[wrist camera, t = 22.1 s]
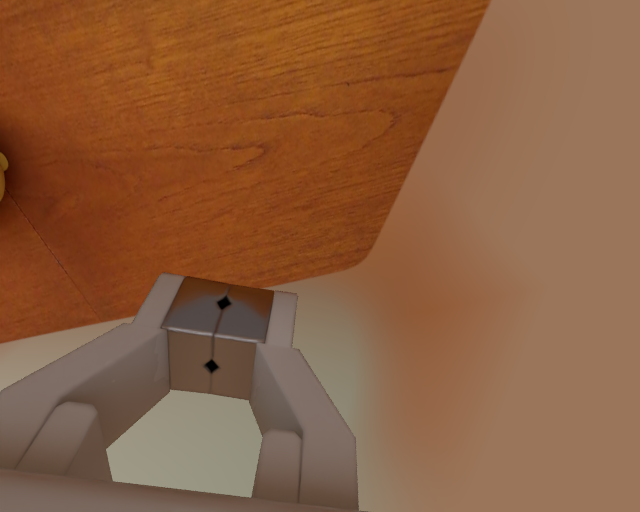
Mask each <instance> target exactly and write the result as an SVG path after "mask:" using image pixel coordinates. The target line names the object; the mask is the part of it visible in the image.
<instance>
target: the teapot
mask: <svg viewBox="0 0 640 512" xmlns="http://www.w3.org/2000/svg"><path fill="white" fill-rule="evenodd" d="M7 168H8V161H7V159H6V157H5V156H4V155H3V154H2V153H1V152H0V201H1V199H2V198H3V196H4V191H5V176H4V172H3V171H5V170H6V169H7Z"/></svg>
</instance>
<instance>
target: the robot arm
mask: <svg viewBox="0 0 640 512" xmlns="http://www.w3.org/2000/svg"><path fill="white" fill-rule="evenodd" d="M274 292H275V294H274ZM297 299H298V296H297V294H296V293H289V292H283V291H272V290H266V289H260V288H253V287H247V286H240V285H234V284H228V283H222V282H217V281H211V280H206V279H200V278H195V277H190V276H187V277H186V276H182V275H176V274H171V273H165V272H163V273H162V274H161V275H160V276H159V277H158V278H157V280H156V282H155V283H154V285H153V287H152V289H151V290H150V292H149V294H148V296H147V297H146V299H145V301H144V303H143V304H142V306H141V308H140V310H139V311H138V313H137V315H136V316H135V318H134V320H133V322H132V323H131V324H127V323H123V324H121V325H119V326H118V327H116V328H114V329H112V330H110V331H108V332H107V333H105V334H103V335H101V336H99V337H97V338H96V339H94V340H92V341H90V342H88V343H87V344H85V345H83V346H81V347H79V348H77V349H76V350H74V351H72V352H70V353H68V354H67V355H65V356H63V357H61V358H59V359H57V360H56V361H54V362H52V363H50V364H48V365H46V366H45V367H43V368H41V369H39V370H37V371H36V372H34V373H32V374H30V375H28V376H27V377H25V378H23V379H21V380H19V381H17V382H16V383H14V384H12V385H10V386H8V387H7V388H5V389H3V390H1V392H0V512H366V511H359V508H358V507H359V506H358V483H357V460H356V438H355V436H354V435H353V433H352V432H351V430H350V428H349V427H348V425H347V424H346V422H345V421H344V419H343V418H342V416H341V414H340V413H339V411H338V410H337V408H336V407H335V405H334V404H333V402H332V400H331V399H330V397H329V396H328V394H327V393H326V391H325V389H324V388H323V386H322V385H321V383H320V382H319V380H318V378H317V377H316V375H315V374H314V373H313V371H312V369H311V368H310V366H309V365H308V363H307V361H306V360H305V359H304V357H303V355H302V354H301V352H300V350H299V349H295V348H292V343H293V333H294V325H295V315H296V307H297ZM170 389H171V390H181V391H189V392H198V393H208V394H214V395H220V396H227V397H232V398H239V399H245V400H249V403H250V406H251V409H252V411H253V414H254V416H255V418H256V421H257V424H258V426H259V429H260V431H261V434H262V437H263V438H262V444H261V449H260V454H259V460H258V465H257V471H256V475H255V481H254V486H253V491H252V497H251V498H249V497H240V496H232V495H224V494H215V493H206V492H198V491H190V490H181V489H173V488H165V487H156V486H148V485H139V484H130V483H122V482H114V481H113V480H112V476H111V471H110V467H109V462H108V457H107V453H106V448H108V447H109V446H110V445H111V444H112V443H113V442H114V441H115V440H117V439H118V438H119V437H120V436H121V435H122V434H123V433H124V432H126V431H127V430H128V429H129V428H130V427H131V426H132V425H133V424H134V423H136V422H137V421H138V420H139V419H140V418H141V417H142V416H143V415H145V414H146V413H147V412H148V411H149V410H150V409H151V408H152V407H153V406H155V405H156V404H157V403H158V402H159V401H160V400H161V399H162V398H164V397H165V396H166V395H167V394H168V393H169V392H170Z"/></svg>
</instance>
